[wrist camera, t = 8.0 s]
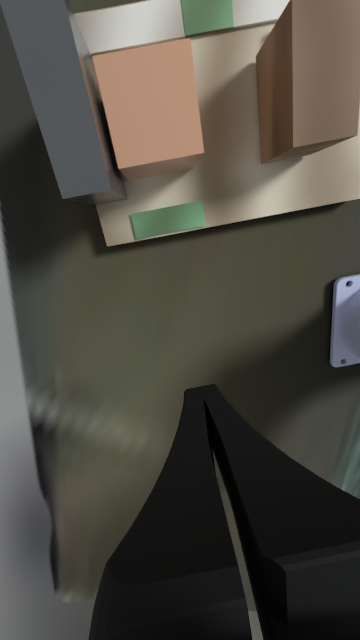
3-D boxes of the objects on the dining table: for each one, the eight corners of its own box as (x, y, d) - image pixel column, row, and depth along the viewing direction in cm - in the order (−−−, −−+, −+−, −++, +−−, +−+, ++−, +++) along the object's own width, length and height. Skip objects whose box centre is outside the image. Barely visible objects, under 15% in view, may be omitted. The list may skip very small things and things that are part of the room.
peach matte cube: (181, 84, 14) (190, 37, 10) (193, 168, 16) (204, 152, 12) (109, 98, 14) (92, 56, 10) (127, 180, 16) (118, 168, 12)
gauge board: (367, -26, 14) (386, -48, 13) (351, 199, 18) (364, 197, 17) (52, 32, 14) (42, 15, 13) (109, 245, 18) (106, 247, 17)
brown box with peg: (311, 15, 13) (371, -64, 10) (310, 154, 16) (357, 135, 12) (254, 25, 13) (291, -49, 10) (261, 164, 16) (293, 147, 12)
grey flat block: (103, 84, 15) (59, -21, 8) (129, 200, 17) (111, 190, 10) (68, 91, 15) (-4, -9, 8) (99, 206, 17) (62, 199, 10)
